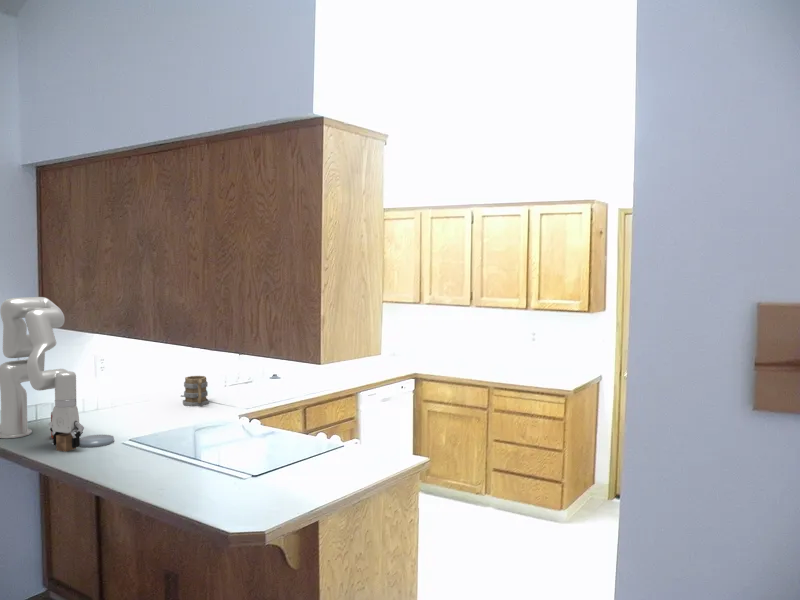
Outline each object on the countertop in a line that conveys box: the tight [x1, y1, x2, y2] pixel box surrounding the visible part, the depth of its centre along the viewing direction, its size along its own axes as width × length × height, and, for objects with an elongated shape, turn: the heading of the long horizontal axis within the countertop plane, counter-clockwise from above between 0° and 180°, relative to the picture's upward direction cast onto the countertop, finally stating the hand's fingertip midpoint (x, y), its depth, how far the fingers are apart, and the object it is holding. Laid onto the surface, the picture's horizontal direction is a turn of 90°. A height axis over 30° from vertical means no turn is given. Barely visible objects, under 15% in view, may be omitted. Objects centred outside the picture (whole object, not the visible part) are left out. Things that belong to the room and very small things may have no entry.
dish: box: [78, 434, 115, 449], centre depth 264 cm, size 14×14×2 cm
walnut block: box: [55, 433, 77, 453], centre depth 254 cm, size 5×5×6 cm
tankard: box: [182, 375, 210, 407], centre depth 335 cm, size 20×13×15 cm, turn 25°
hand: (66, 445), depth 255 cm, fingers open, 9 cm apart
